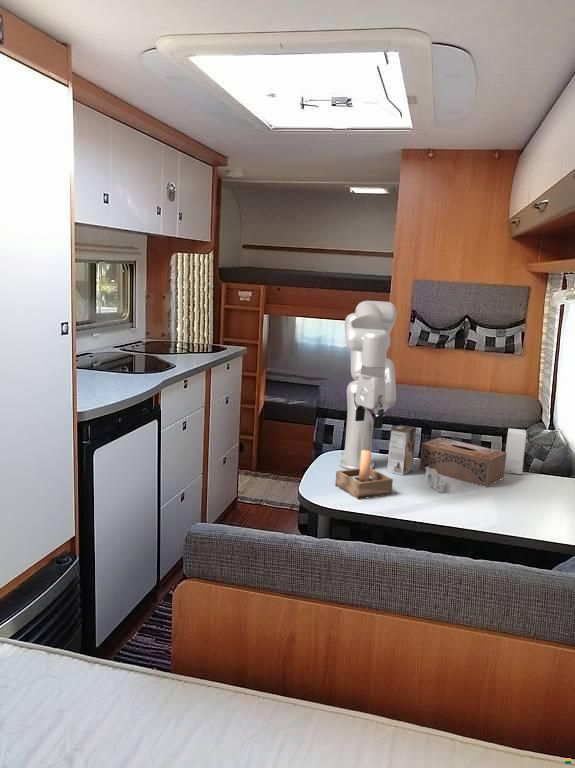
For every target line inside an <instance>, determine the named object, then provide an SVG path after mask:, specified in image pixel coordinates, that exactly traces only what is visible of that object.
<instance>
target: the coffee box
mask: <svg viewBox="0 0 575 768" xmlns="http://www.w3.org/2000/svg"><path fill="white" fill-rule="evenodd" d="M416 432H417V427H415V426H411V425H405V424H399V425H397V426H394V427H392V428H390V436H389V447H388V457H387V458H388V459H387V472H388V473H391V474H395V475H398V476H399V475H400V476H405V475H406V474H408V473H409V472H410V471H412V470H413V466H414V457H415V455H414V453H415V446H416V445H415V444H416Z"/></svg>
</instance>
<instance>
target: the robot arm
mask: <svg viewBox="0 0 575 768" xmlns="http://www.w3.org/2000/svg"><path fill="white" fill-rule="evenodd" d="M396 318H397V309H396V306H395V305H394V304H393V303H392V302H390V301H383V300H382V301H379V300H378V301H377V300H363V301H360V302H359V303H358V304H357V306H356V307H355V312H352V313H350V314H348V315H347V316H346V317H345V319H344V334H345V336H344V337H345V345H346V348H347V349H348V350H349V351H350V375H351V378H352V381H351V382H349V383H348V384H347V387H346V402H347V403H346V405H347V413H346V416H347V417H346V426H345V427H346V428H345V429H346V431H345V441H344V442H345V443H344V450H341V451H340V454H341V455H343V458H341V459H339V466H341V467H342V468H344V469H345V470H351V469H359V468H360V461H361V451H362V450H369V451H371V452H372V445H373V443H372V442H373V431H374V430H378V429H379V430H380V429H382V428H383V423H384V417H385V415H386V414H387V412H388V409H391V408H393V407H394V406H395V404H396V401H397V389H396V388H397V386H396V371H395V365H394V362H393V360H392V359H390V358H387V353H388V349H390V346H391V336H390V334H391V332H392V329H393V328H394V326H395V324H396V320H397V319H396ZM368 409H369V410H373V412H374V416H373V415H372V414H371V412H370V411H369V410H368ZM374 467H375V463H374V462H373V461H371V462H370V468H371V469H373V468H374ZM373 470H374V469H373Z"/></svg>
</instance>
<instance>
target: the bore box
mask: <svg viewBox="0 0 575 768" xmlns="http://www.w3.org/2000/svg"><path fill="white" fill-rule="evenodd" d="M359 473H360V468H359V469H351V470H350V469H345V470H343V469H342V470H336V472H335V483H334V484H335V487H337V488H338V487H339V488H338V489H340V490H342V491H343V490H344V492H345V491H346V492H345V493H346V494H348V493H349V494H348V495H350V494H351V495H350V496H352V497H353V496H354V498H355V497H356V498H355V499H357V498H358V499H357V500H361V499H360V498H363V499H367V498H366V497H370V498H376V497H375V496H377V497H382V495H384V496H388V495H389V496H390V494H391V495H392V493H393V483H394V482H393V481H394V478H391V477H389V476H387V475H386V474H384V473H381V472H379V471H377V470H375V469H371V468H370V473H369V481H368V482H360V481H359Z"/></svg>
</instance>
